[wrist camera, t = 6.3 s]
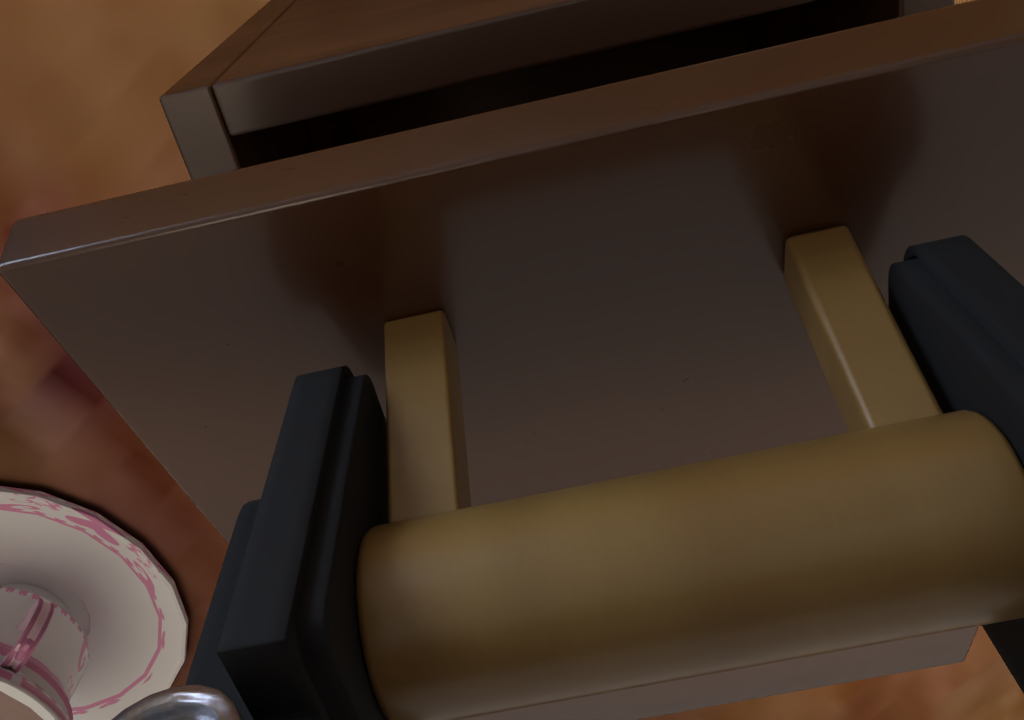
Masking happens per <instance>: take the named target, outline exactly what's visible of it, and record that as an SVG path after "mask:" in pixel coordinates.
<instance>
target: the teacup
mask: <svg viewBox="0 0 1024 720" xmlns="http://www.w3.org/2000/svg"><path fill="white" fill-rule="evenodd" d="M187 637H188V616H187V614H186V611H185V608H184V606H183V603H182V600H181V598H180V595H179V592H178V590H177V587H176V585H175V582H174V580H173V579H172V577H171V576H170V575H169V574H168V573H167V572H166V570H165V569H164V568H163V567H162V566H161V564H160V563H159V562H158V561H157V560H156V559H155V557H154V556H153V555H152V554H151V553H150V551H149V550H148V549H147V548H146V547H145V546H144V544H143V543H141V542H140V541H138V540H137V539H136V538H134V537H133V536H131V535H130V534H128V533H127V532H125V531H124V530H122V529H121V528H119V527H118V526H116V525H115V524H113V523H112V522H111V521H109V520H108V519H106V518H105V517H103V516H102V515H100V514H99V513H97V512H95V511H92V510H89V509H87V508H84V507H82V506H79V505H76V504H74V503H71V502H68V501H66V500H63V499H60V498H58V497H55V496H53V495H50V494H47V493H45V492H42V491H35V490H28V489H21V488H13V487H6V486H0V720H112V719H113V718H114V717H115V716H116V715H118V714H119V713H120V712H121V711H123V710H124V709H125V708H127V707H129V706H131V705H132V704H134V703H136V702H138V701H139V700H141V699H143V698H145V697H147V696H148V695H150V694H154V693H157V692H160V691H163V690H166V689H169V688H170V686H171V684H172V683H173V681H174V679H175V677H176V675H177V674H178V672H179V670H180V668H181V666H182V665H183V663H184V661H185V658H186V655H187Z"/></svg>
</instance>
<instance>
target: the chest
mask: <svg viewBox="0 0 1024 720" xmlns="http://www.w3.org/2000/svg"><path fill="white" fill-rule="evenodd" d="M951 5H954V0H271V1H270V2H268V3H267V4H266V5H265V6H264V7H263V8H262V9H260V10H259V11H258V12H257V13H256V14H255V15H254V16H252V17H251V18H250V19H249V20H248V21H247V22H246V23H244V24H243V25H242V26H241V27H240V28H239V29H238V30H236V31H235V32H234V33H233V34H232V35H231V36H230V37H228V38H227V39H226V40H225V41H224V42H223V43H222V44H220V45H219V46H218V47H217V48H216V49H215V50H214V51H212V52H211V53H210V54H209V55H208V56H207V57H206V58H204V59H203V60H202V61H201V62H200V63H199V64H197V65H196V66H195V67H194V68H193V69H192V70H191V71H189V72H188V73H187V74H186V75H185V76H184V77H183V78H181V79H180V80H179V81H178V82H177V83H176V84H175V85H173V86H172V87H171V88H170V89H169V90H168V91H167V92H165V93H164V94H163V95H162V96H161V97H160V103H161V105H162V108H163V110H164V113H165V115H166V118H167V120H168V123H169V125H170V127H171V130H172V132H173V135H174V137H175V140H176V142H177V145H178V147H179V150H180V152H181V155H182V157H183V160H184V162H185V165H186V167H187V170H188V172H189V175H190V177H191V180H193V179H198V178H202V177H206V176H211V175H215V174H220V173H224V172H228V171H233V170H237V169H241V168H246V167H250V166H254V165H259V164H263V163H267V162H272V161H276V160H281V159H285V158H289V157H294V156H298V155H302V154H307V153H311V152H315V151H320V150H324V149H328V148H333V147H337V146H342V145H346V144H350V143H355V142H359V141H363V140H368V139H372V138H376V137H381V136H385V135H389V134H394V133H398V132H402V131H407V130H411V129H416V128H420V127H424V126H429V125H433V124H437V123H442V122H446V121H450V120H455V119H459V118H463V117H468V116H472V115H477V114H481V113H485V112H490V111H494V110H498V109H503V108H507V107H511V106H516V105H520V104H524V103H529V102H533V101H538V100H542V99H546V98H551V97H555V96H559V95H564V94H568V93H572V92H577V91H581V90H585V89H590V88H594V87H598V86H603V85H607V84H612V83H616V82H620V81H625V80H629V79H633V78H638V77H642V76H646V75H651V74H655V73H659V72H664V71H668V70H673V69H677V68H681V67H686V66H690V65H694V64H699V63H703V62H707V61H712V60H716V59H720V58H725V57H729V56H734V55H738V54H742V53H747V52H751V51H755V50H760V49H764V48H768V47H773V46H777V45H781V44H786V43H790V42H794V41H799V40H803V39H808V38H812V37H816V36H821V35H825V34H829V33H834V32H838V31H842V30H847V29H851V28H855V27H860V26H864V25H869V24H873V23H877V22H882V21H886V20H890V19H895V18H899V17H903V16H908V15H912V14H916V13H921V12H925V11H930V10H934V9H938V8H943V7H947V6H951Z"/></svg>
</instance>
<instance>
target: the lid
mask: <svg viewBox="0 0 1024 720" xmlns="http://www.w3.org/2000/svg"><path fill="white" fill-rule="evenodd" d="M960 235H966V236H967V237H969V238H971V239H972V240H973V241H974V242H975V243H976V244H977V245H978V246H980V247H981V248H982V249H983V250H984V251H985V252H986V253H987V254H988V255H989V256H991V257H992V258H993V259H994V260H995V261H996V262H997V263H998V264H999V265H1001V266H1002V267H1003V268H1004V269H1005V270H1006V271H1007V272H1008V273H1009V274H1011V275H1012V276H1013V277H1014V278H1015V279H1016V280H1017V281H1018V282H1019V283H1021V284H1022V285H1023V286H1024V0H973V1H969V2H964V3H960V4H956V5H951V6H947V7H943V8H938V9H934V10H930V11H925V12H921V13H916V14H912V15H908V16H903V17H899V18H895V19H890V20H886V21H882V22H877V23H873V24H869V25H864V26H860V27H855V28H851V29H847V30H842V31H838V32H834V33H829V34H825V35H821V36H816V37H812V38H808V39H803V40H799V41H794V42H790V43H786V44H781V45H777V46H773V47H768V48H764V49H760V50H755V51H751V52H747V53H742V54H738V55H734V56H729V57H725V58H720V59H716V60H712V61H707V62H703V63H699V64H694V65H690V66H686V67H681V68H677V69H673V70H668V71H664V72H659V73H655V74H651V75H646V76H642V77H638V78H633V79H629V80H625V81H620V82H616V83H612V84H607V85H603V86H598V87H594V88H590V89H585V90H581V91H577V92H572V93H568V94H564V95H559V96H555V97H551V98H546V99H542V100H538V101H533V102H529V103H524V104H520V105H516V106H511V107H507V108H503V109H498V110H494V111H490V112H485V113H481V114H477V115H472V116H468V117H463V118H459V119H455V120H450V121H446V122H442V123H437V124H433V125H429V126H424V127H420V128H416V129H411V130H407V131H402V132H398V133H394V134H389V135H385V136H381V137H376V138H372V139H368V140H363V141H359V142H355V143H350V144H346V145H342V146H337V147H333V148H328V149H324V150H320V151H315V152H311V153H307V154H302V155H298V156H294V157H289V158H285V159H281V160H276V161H272V162H267V163H263V164H259V165H254V166H250V167H246V168H241V169H237V170H233V171H228V172H224V173H220V174H215V175H211V176H206V177H202V178H198V179H193V180H189V181H185V182H180V183H176V184H172V185H167V186H163V187H159V188H154V189H150V190H146V191H141V192H137V193H132V194H128V195H124V196H119V197H115V198H111V199H106V200H102V201H98V202H93V203H89V204H85V205H80V206H76V207H71V208H67V209H63V210H58V211H54V212H50V213H45V214H41V215H37V216H32V217H28V218H24V219H19V220H18V221H16V222H15V223H14V224H13V225H12V228H11V231H10V234H9V236H8V239H7V242H6V244H5V247H4V250H3V253H2V255H1V258H0V274H1V275H2V277H3V278H4V279H5V280H6V281H7V282H8V284H9V285H10V286H11V287H12V288H13V290H14V291H15V292H16V293H17V294H18V295H19V297H20V298H21V299H22V300H23V301H24V303H25V304H26V305H27V306H28V307H29V308H30V310H31V311H32V312H33V313H34V314H35V316H36V317H37V318H38V319H39V320H40V321H41V323H42V324H43V325H44V326H45V327H46V329H47V330H48V331H49V332H50V333H51V334H52V336H53V337H54V338H55V339H56V340H57V342H58V343H59V344H60V345H61V346H62V347H63V349H64V350H65V351H66V352H67V353H68V355H69V356H70V357H71V358H72V359H73V360H74V362H75V363H76V364H77V365H78V366H79V368H80V369H81V370H82V371H83V372H84V373H85V375H86V376H87V377H88V378H89V379H90V381H91V382H92V383H93V384H94V385H95V386H96V388H97V389H98V390H99V391H100V392H101V394H102V395H103V396H104V397H105V398H106V399H107V401H108V402H109V403H110V404H111V405H112V407H113V408H114V409H115V410H116V411H117V412H118V414H119V415H120V416H121V417H122V418H123V420H124V421H125V422H126V423H127V424H128V425H129V427H130V428H131V429H132V430H133V431H134V433H135V434H136V435H137V436H138V437H139V438H140V440H141V441H142V442H143V443H144V444H145V446H146V447H147V448H148V449H149V450H150V451H151V453H152V454H153V455H154V456H155V457H156V459H157V460H158V461H159V462H160V463H161V464H162V466H163V467H164V468H165V469H166V470H167V472H168V473H169V474H170V475H171V476H172V477H173V479H174V480H175V481H176V482H177V483H178V484H179V486H180V487H181V488H182V489H183V490H184V492H185V493H186V494H187V495H188V496H189V497H190V499H191V500H192V501H193V502H194V503H195V505H196V506H197V507H198V508H199V509H200V510H201V512H202V513H203V514H204V515H205V516H206V518H207V519H208V520H209V521H210V522H211V523H212V525H213V526H214V527H215V528H216V529H217V531H218V532H219V533H220V534H221V535H222V536H223V538H224V539H225V540H226V541H227V542H228V544H229V543H230V540H231V537H232V533H233V530H234V527H235V524H236V521H237V517H238V515H239V513H240V511H241V508H242V506H243V505H244V504H246V503H247V502H249V501H253V500H258V499H261V496H262V493H263V489H264V486H265V482H266V479H267V475H268V472H269V468H270V465H271V461H272V458H273V454H274V451H275V447H276V444H277V440H278V437H279V433H280V430H281V427H282V423H283V420H284V416H285V413H286V409H287V406H288V402H289V399H290V395H291V392H292V388H293V385H294V381H295V379H296V377H297V376H299V375H303V374H308V373H312V372H317V371H322V370H326V369H331V368H336V367H341V366H345V365H346V366H347V367H349V368H350V370H351V372H352V373H353V375H354V377H355V376H359V375H364V374H367V375H368V376H369V377H370V379H371V381H372V383H373V385H374V388H375V391H376V394H377V397H378V399H379V402H380V405H381V408H382V411H383V414H384V416H385V419H386V425H387V470H388V516H389V523H387V524H382V525H377V526H374V527H372V528H371V529H370V530H368V531H367V532H366V533H365V534H364V536H363V538H362V541H361V544H360V548H359V553H358V560H357V570H356V603H357V616H358V625H359V633H360V639H361V645H362V651H363V655H364V660H365V664H366V668H367V672H368V676H369V679H370V683H371V686H372V689H373V691H374V694H375V697H376V699H377V701H378V704H379V706H380V708H381V710H382V712H383V714H384V716H385V717H386V719H387V720H637V719H642V718H648V717H654V716H659V715H665V714H671V713H676V712H682V711H687V710H693V709H699V708H704V707H710V706H716V705H721V704H727V703H733V702H738V701H744V700H749V699H755V698H761V697H766V696H772V695H778V694H783V693H789V692H795V691H800V690H806V689H811V688H817V687H823V686H828V685H834V684H840V683H845V682H851V681H857V680H862V679H868V678H873V677H879V676H885V675H890V674H896V673H902V672H907V671H913V670H919V669H924V668H930V667H936V666H941V665H947V664H952V663H958V662H963V661H964V660H965V658H966V656H967V653H968V651H969V648H970V646H971V644H972V641H973V639H974V636H975V634H976V632H977V629H978V627H979V626H981V625H987V624H992V623H998V622H1004V621H1009V620H1015V619H1020V618H1024V468H1023V466H1022V464H1021V462H1020V460H1019V458H1018V456H1017V454H1016V453H1015V451H1014V449H1013V448H1012V446H1011V444H1010V443H1009V441H1008V440H1007V438H1006V437H1005V436H1004V434H1003V433H1002V432H1001V431H1000V429H999V428H998V427H997V426H996V425H995V424H994V423H993V422H992V421H991V420H990V419H989V418H987V417H986V416H984V415H983V414H980V413H978V412H974V411H968V410H960V411H955V412H950V413H945V414H943V412H942V410H941V408H940V406H939V404H938V402H937V400H936V398H935V396H934V394H933V393H932V391H931V389H930V387H929V385H928V383H927V381H926V379H925V377H924V375H923V373H922V371H921V369H920V367H919V365H918V363H917V361H916V359H915V358H914V356H913V354H912V352H911V350H910V348H909V346H908V344H907V342H906V340H905V338H904V336H903V334H902V332H901V330H900V328H899V326H898V324H897V323H896V321H895V319H894V317H893V315H892V313H891V311H890V309H889V302H888V274H889V269H890V266H891V265H892V263H896V262H901V261H904V255H905V252H906V250H907V248H908V247H909V246H913V245H917V244H922V243H927V242H932V241H936V240H941V239H946V238H951V237H955V236H960Z"/></svg>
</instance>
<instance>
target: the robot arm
mask: <svg viewBox="0 0 1024 720" xmlns="http://www.w3.org/2000/svg"><path fill="white" fill-rule="evenodd" d="M888 302H889V309H890V311H891V313H892V315H893V317H894V319H895V321H896V323H897V324H898V326H899V328H900V330H901V332H902V334H903V336H904V338H905V340H906V342H907V344H908V346H909V348H910V350H911V352H912V354H913V356H914V358H915V359H916V361H917V363H918V365H919V367H920V369H921V371H922V373H923V375H924V377H925V379H926V381H927V383H928V385H929V387H930V389H931V391H932V393H933V394H934V396H935V398H936V400H937V402H938V404H939V406H940V408H941V410H942V412H943V414H945V413H950V412H955V411H960V410H968V411H974V412H978V413H980V414H983V415H984V416H986V417H987V418H989V419H990V420H991V421H992V422H993V423H994V424H995V425H996V426H997V427H998V428H999V429H1000V431H1001V432H1002V433H1003V434H1004V436H1005V437H1006V438H1007V440H1008V441H1009V443H1010V444H1011V446H1012V448H1013V449H1014V451H1015V453H1016V454H1017V456H1018V458H1019V460H1020V462H1021V464H1022V466H1023V468H1024V286H1023V285H1022V284H1021V283H1019V282H1018V281H1017V280H1016V279H1015V278H1014V277H1013V276H1012V275H1011V274H1009V273H1008V272H1007V271H1006V270H1005V269H1004V268H1003V267H1002V266H1001V265H999V264H998V263H997V262H996V261H995V260H994V259H993V258H992V257H991V256H989V255H988V254H987V253H986V252H985V251H984V250H983V249H982V248H981V247H980V246H978V245H977V244H976V243H975V242H974V241H973V240H972V239H971V238H969V237H967V236H966V235H960V236H955V237H951V238H946V239H941V240H936V241H932V242H927V243H922V244H917V245H913V246H909V247H908V248H907V250H906V252H905V255H904V261H901V262H896V263H892V265H891V266H890V269H889V274H888ZM387 523H389V516H388V470H387V425H386V419H385V416H384V414H383V411H382V408H381V405H380V402H379V399H378V397H377V394H376V391H375V388H374V385H373V383H372V381H371V379H370V377H369V376H368V375H367V374H364V375H359V376H355V377H354V375H353V373H352V372H351V370H350V368H349V367H347V366H346V365H345V366H341V367H336V368H331V369H326V370H322V371H317V372H312V373H308V374H303V375H299V376H297V377H296V379H295V381H294V385H293V388H292V392H291V395H290V399H289V402H288V406H287V409H286V413H285V416H284V420H283V423H282V427H281V430H280V433H279V437H278V440H277V444H276V447H275V451H274V454H273V458H272V461H271V465H270V468H269V472H268V475H267V479H266V482H265V486H264V489H263V493H262V496H261V499H258V500H253V501H249V502H247V503H246V504H244V505H243V506H242V508H241V511H240V513H239V515H238V517H237V521H236V524H235V527H234V530H233V533H232V537H231V540H230V543H229V546H228V550H227V553H226V556H225V559H224V562H223V566H222V569H221V572H220V575H219V578H218V582H217V585H216V588H215V591H214V594H213V598H212V601H211V604H210V607H209V611H208V614H207V617H206V620H205V623H204V627H203V630H202V633H201V636H200V639H199V643H198V646H197V649H196V652H195V656H194V659H193V662H192V665H191V668H190V672H189V675H188V678H187V681H186V684H185V686H175V687H172V688H169V689H166V690H163V691H160V692H157V693H154V694H150V695H148V696H147V697H145V698H143V699H141V700H139V701H138V702H136V703H134V704H132V705H131V706H129V707H127V708H125V709H124V710H123V711H121V712H120V713H119V714H118V715H116V716H115V717H114V718H113V719H112V720H387V719H386V717H385V716H384V714H383V712H382V710H381V708H380V706H379V704H378V701H377V699H376V697H375V694H374V691H373V689H372V686H371V683H370V679H369V676H368V672H367V668H366V664H365V660H364V655H363V651H362V645H361V639H360V633H359V625H358V616H357V603H356V570H357V560H358V553H359V548H360V544H361V541H362V538H363V536H364V534H365V533H366V532H367V531H368V530H370V529H371V528H372V527H374V526H377V525H382V524H387ZM982 626H983V628H984V630H985V631H986V633H987V634H988V636H989V638H990V639H991V641H992V643H993V644H994V646H995V648H996V649H997V651H998V652H999V654H1000V656H1001V657H1002V659H1003V661H1004V662H1005V664H1006V665H1007V667H1008V669H1009V670H1010V672H1011V674H1012V675H1013V677H1014V679H1015V680H1016V682H1017V683H1018V685H1019V687H1020V688H1021V690H1022V692H1023V693H1024V618H1020V619H1015V620H1009V621H1004V622H998V623H992V624H987V625H982Z"/></svg>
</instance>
